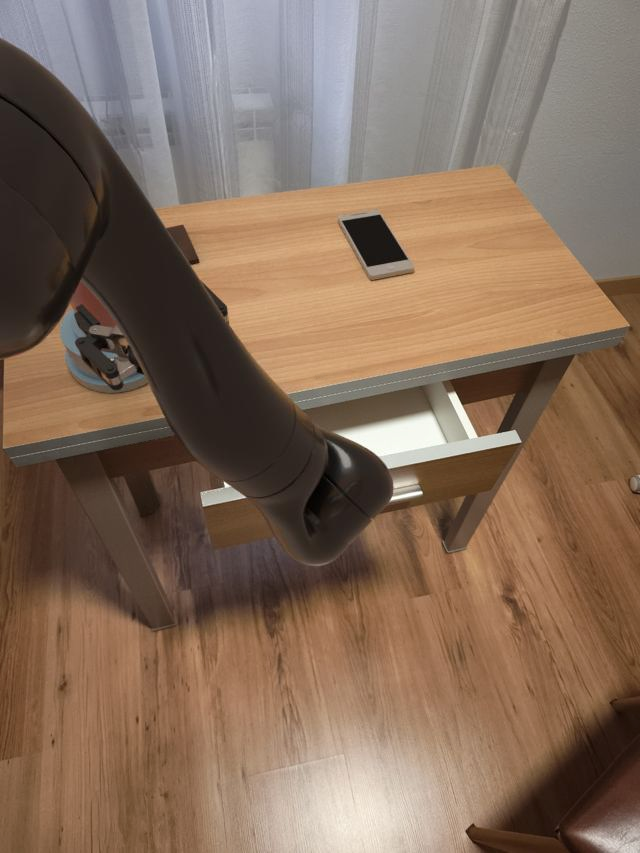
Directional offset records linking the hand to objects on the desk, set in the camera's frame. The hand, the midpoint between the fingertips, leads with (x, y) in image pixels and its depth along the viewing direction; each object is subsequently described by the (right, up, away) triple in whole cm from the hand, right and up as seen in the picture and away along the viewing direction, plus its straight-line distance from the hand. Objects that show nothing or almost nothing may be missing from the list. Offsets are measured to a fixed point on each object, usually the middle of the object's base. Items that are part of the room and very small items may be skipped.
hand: (117, 293), depth 59 cm
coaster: (-3, +13, +27) cm, 30 cm away
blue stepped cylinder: (-5, -4, +15) cm, 16 cm away
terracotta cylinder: (-5, -1, +9) cm, 10 cm away
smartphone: (+30, +14, +29) cm, 44 cm away
